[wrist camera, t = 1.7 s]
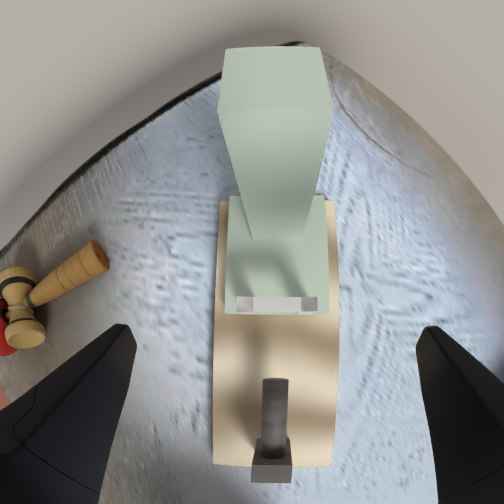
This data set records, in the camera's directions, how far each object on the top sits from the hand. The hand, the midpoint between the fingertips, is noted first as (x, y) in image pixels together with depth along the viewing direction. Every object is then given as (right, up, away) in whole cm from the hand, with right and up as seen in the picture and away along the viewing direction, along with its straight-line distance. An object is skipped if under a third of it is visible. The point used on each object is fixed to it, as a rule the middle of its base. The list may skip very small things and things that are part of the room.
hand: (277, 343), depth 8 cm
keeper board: (+1, -4, +13) cm, 14 cm away
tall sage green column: (+1, +2, +13) cm, 14 cm away
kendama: (-21, -3, +16) cm, 26 cm away
